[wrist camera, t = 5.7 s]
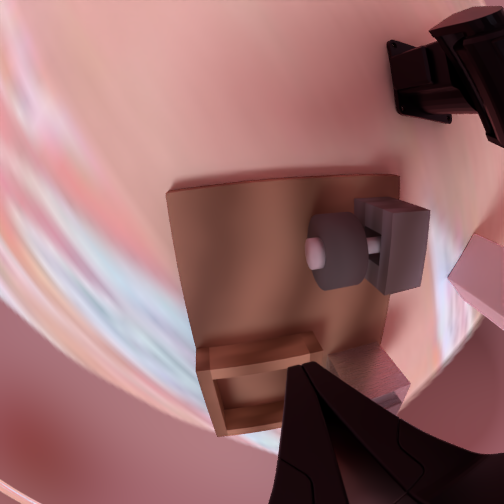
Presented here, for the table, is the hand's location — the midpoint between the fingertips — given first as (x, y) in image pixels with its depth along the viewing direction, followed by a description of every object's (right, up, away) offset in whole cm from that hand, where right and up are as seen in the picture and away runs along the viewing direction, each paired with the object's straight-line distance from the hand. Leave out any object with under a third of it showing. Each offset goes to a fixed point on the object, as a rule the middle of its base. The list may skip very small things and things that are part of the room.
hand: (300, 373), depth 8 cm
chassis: (+2, -2, +14) cm, 14 cm away
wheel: (+4, +5, +10) cm, 12 cm away
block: (+8, -7, +15) cm, 19 cm away
